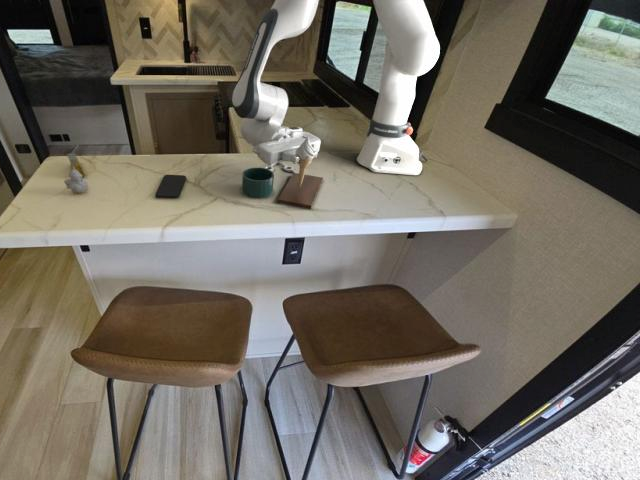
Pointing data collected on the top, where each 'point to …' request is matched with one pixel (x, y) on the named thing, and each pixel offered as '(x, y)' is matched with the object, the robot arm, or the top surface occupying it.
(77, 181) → the grey lumpy piece
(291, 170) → the scissors
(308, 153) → the ice cream cone
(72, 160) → the medication box
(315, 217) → the top surface
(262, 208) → the top surface
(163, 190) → the phone
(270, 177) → the cup
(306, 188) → the board
